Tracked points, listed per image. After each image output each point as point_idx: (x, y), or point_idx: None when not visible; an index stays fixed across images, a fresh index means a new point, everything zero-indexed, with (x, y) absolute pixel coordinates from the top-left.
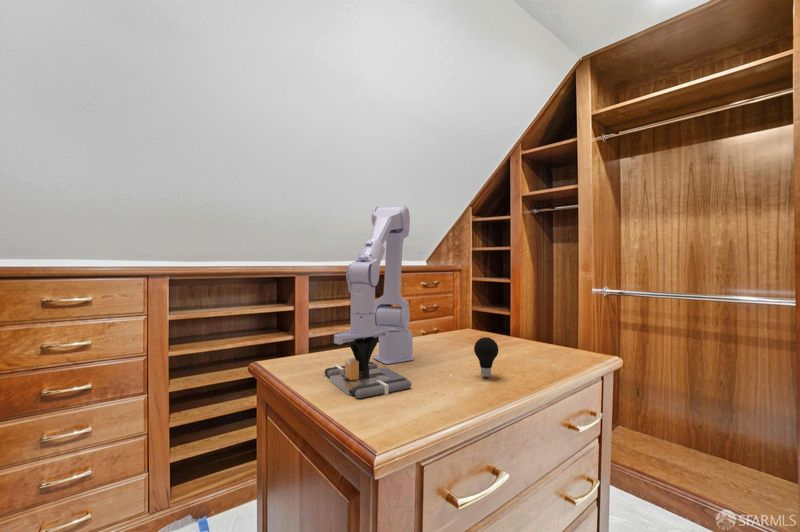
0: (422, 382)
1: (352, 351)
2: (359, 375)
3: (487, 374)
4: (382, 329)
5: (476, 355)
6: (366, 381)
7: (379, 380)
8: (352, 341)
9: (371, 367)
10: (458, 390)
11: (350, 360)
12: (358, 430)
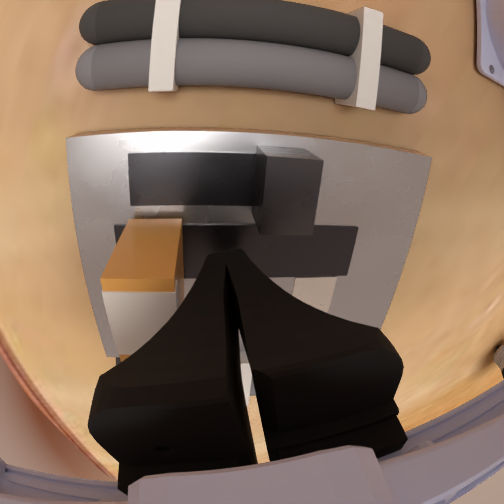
0: (406, 333)
1: (159, 330)
2: (229, 213)
3: (495, 362)
4: (488, 477)
5: None
6: None
7: (248, 368)
8: (129, 471)
9: (381, 107)
10: (403, 396)
11: (130, 327)
12: (100, 452)
